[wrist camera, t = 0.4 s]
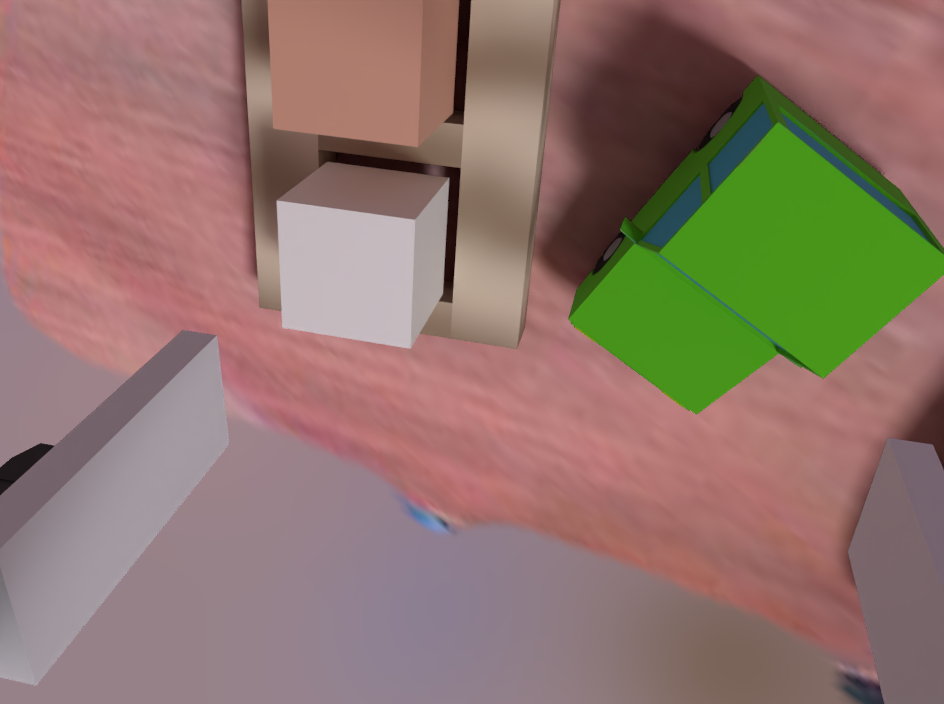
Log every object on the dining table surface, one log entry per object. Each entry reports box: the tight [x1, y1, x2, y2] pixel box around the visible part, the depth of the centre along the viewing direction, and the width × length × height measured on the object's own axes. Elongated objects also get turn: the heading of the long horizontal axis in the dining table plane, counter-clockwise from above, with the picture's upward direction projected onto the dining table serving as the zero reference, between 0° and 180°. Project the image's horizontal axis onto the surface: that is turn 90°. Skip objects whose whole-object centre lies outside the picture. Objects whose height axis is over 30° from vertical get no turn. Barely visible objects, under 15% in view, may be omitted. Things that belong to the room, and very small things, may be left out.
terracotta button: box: [268, 0, 459, 147], centre depth 35 cm, size 6×6×6 cm
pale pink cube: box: [277, 162, 449, 349], centre depth 39 cm, size 6×6×6 cm
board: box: [241, 0, 560, 349], centre depth 39 cm, size 29×14×3 cm, turn 176°
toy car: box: [568, 75, 944, 414], centre depth 37 cm, size 10×13×10 cm
